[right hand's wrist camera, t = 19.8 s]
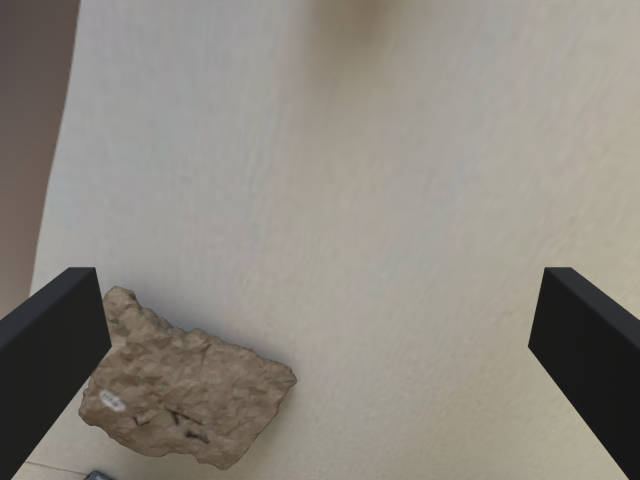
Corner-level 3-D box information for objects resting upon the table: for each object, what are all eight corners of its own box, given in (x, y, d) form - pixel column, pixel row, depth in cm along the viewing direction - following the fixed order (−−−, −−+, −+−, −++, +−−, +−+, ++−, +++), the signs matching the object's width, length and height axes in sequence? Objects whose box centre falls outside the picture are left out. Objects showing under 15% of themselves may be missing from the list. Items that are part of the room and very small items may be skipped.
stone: (49, 397, 44) (27, 437, 38) (115, 274, 42) (102, 297, 37) (233, 452, 51) (237, 492, 45) (294, 349, 50) (306, 377, 44)
